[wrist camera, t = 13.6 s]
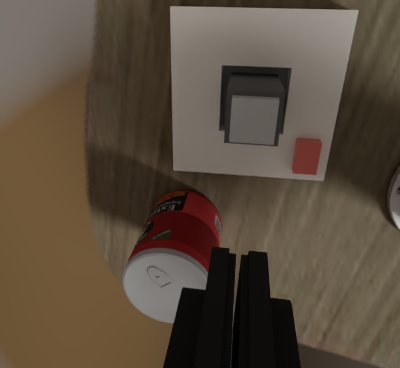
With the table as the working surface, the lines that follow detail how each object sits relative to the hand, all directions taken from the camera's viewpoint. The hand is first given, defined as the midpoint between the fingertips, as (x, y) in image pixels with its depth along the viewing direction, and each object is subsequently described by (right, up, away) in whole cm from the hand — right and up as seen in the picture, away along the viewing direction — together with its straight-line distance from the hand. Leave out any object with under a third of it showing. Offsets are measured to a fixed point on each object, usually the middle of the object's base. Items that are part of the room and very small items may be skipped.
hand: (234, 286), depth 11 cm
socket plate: (+4, +11, +21) cm, 24 cm away
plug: (+4, +11, +20) cm, 23 cm away
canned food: (-2, -1, +28) cm, 28 cm away
